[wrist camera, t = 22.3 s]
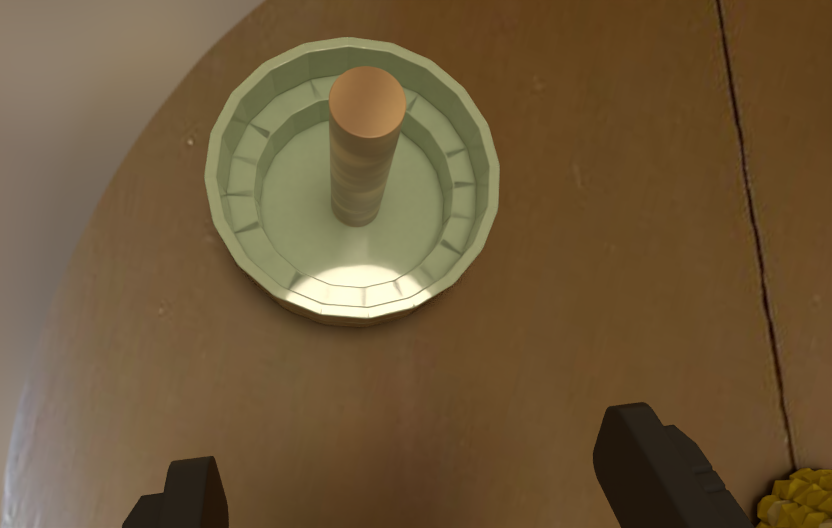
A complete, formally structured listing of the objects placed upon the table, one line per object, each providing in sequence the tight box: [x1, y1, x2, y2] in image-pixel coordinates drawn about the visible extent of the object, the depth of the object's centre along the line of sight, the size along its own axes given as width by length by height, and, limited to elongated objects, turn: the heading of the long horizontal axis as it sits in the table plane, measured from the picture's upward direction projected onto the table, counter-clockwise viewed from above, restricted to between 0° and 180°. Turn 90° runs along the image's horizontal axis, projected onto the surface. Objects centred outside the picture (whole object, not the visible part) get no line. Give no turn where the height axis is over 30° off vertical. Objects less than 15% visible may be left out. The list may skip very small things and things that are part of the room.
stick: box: [329, 66, 406, 227], centre depth 29 cm, size 3×3×14 cm
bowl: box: [204, 37, 500, 327], centre depth 33 cm, size 15×15×6 cm
